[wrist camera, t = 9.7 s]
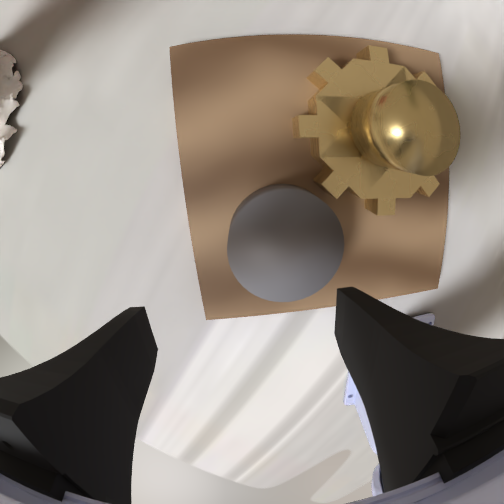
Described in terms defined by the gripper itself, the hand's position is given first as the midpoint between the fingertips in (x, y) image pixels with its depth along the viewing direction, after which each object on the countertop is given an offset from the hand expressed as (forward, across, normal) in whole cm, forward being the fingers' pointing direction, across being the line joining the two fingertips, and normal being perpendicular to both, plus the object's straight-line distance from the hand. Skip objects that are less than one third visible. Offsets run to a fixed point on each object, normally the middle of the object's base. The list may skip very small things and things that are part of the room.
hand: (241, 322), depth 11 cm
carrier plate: (+9, -6, -4) cm, 12 cm away
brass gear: (+8, -9, -7) cm, 14 cm away
